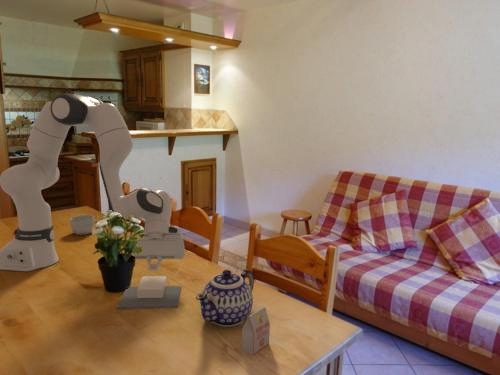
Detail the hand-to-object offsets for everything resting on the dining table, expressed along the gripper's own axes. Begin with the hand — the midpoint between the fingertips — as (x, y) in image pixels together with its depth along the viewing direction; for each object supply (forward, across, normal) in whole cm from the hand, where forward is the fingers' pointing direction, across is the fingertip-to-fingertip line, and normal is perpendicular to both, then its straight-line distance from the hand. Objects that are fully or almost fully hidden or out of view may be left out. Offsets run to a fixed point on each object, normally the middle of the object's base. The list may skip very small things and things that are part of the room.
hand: (153, 270), depth 131 cm
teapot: (+19, +24, -9) cm, 32 cm away
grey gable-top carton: (+29, +31, -19) cm, 47 cm away
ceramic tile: (+2, 0, +5) cm, 5 cm away
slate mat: (+9, 0, +1) cm, 9 cm away
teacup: (-41, -43, +51) cm, 78 cm away
